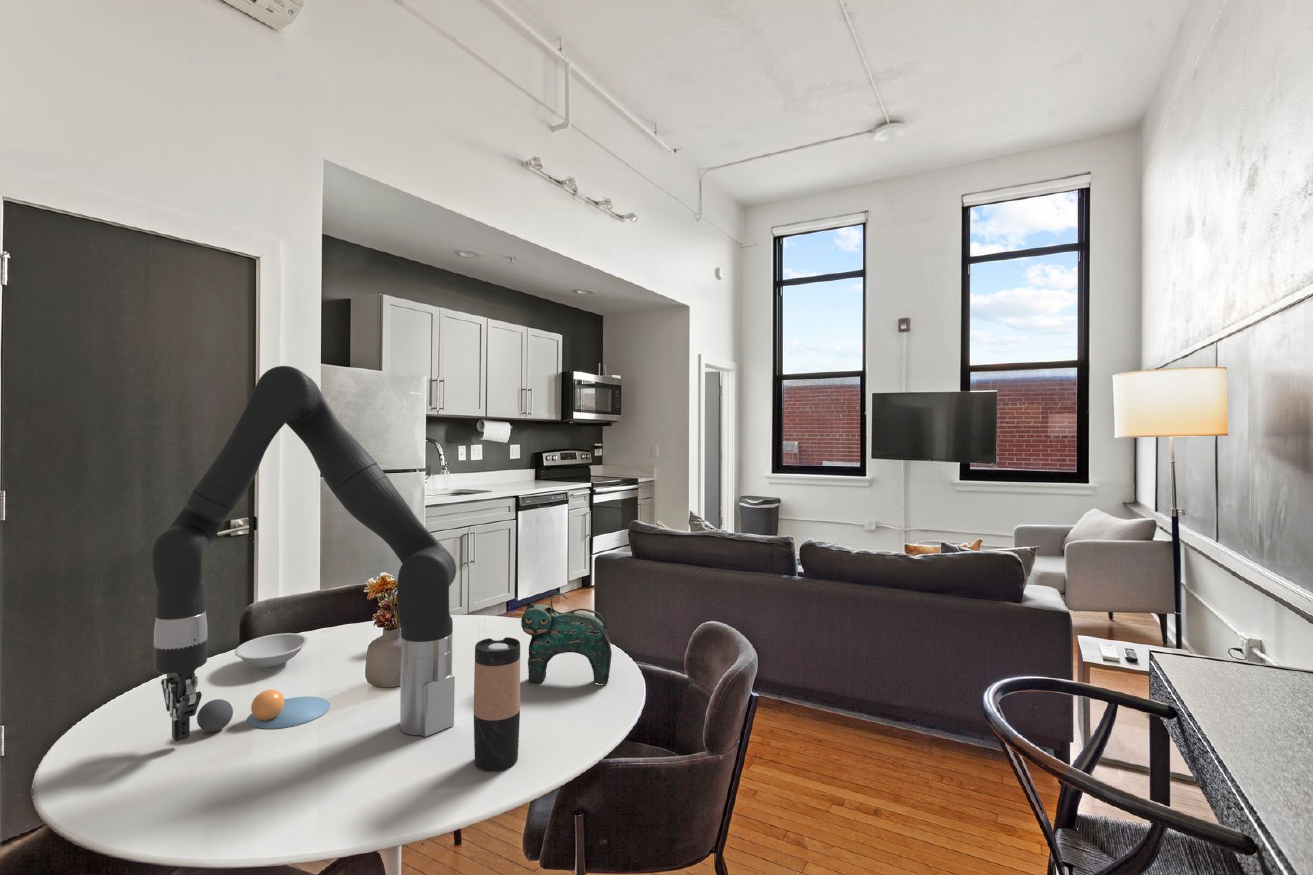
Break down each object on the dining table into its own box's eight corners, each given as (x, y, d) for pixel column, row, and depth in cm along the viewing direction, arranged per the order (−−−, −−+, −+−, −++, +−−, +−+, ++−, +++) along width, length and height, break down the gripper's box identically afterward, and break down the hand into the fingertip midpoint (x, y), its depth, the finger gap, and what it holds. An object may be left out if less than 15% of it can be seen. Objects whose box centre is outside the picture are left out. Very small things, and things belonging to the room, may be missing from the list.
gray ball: (204, 701, 116) (215, 729, 115) (233, 690, 122) (243, 717, 121) (185, 712, 118) (196, 741, 117) (215, 701, 123) (225, 728, 122)
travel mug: (495, 777, 104) (497, 654, 104) (463, 764, 109) (464, 645, 108) (528, 757, 111) (530, 641, 111) (496, 745, 115) (498, 633, 115)
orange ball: (267, 730, 121) (294, 708, 125) (252, 709, 119) (280, 687, 123) (255, 722, 125) (282, 701, 129) (240, 701, 123) (268, 680, 126)
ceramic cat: (519, 685, 142) (520, 594, 142) (526, 674, 149) (527, 587, 148) (609, 688, 141) (610, 597, 141) (612, 677, 148) (614, 589, 147)
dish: (249, 655, 158) (249, 635, 158) (314, 650, 162) (314, 631, 162) (223, 683, 141) (223, 660, 141) (296, 677, 145) (297, 655, 145)
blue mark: (343, 710, 128) (343, 709, 128) (266, 736, 117) (266, 734, 117) (310, 691, 137) (310, 690, 137) (236, 714, 126) (236, 713, 126)
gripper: (219, 642, 111) (219, 742, 112) (193, 627, 120) (192, 720, 120) (167, 654, 106) (166, 759, 106) (143, 637, 114) (142, 734, 114)
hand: (180, 738), depth 113 cm, fingers closed
